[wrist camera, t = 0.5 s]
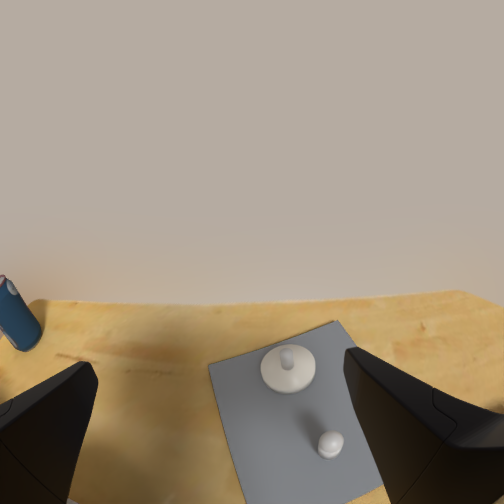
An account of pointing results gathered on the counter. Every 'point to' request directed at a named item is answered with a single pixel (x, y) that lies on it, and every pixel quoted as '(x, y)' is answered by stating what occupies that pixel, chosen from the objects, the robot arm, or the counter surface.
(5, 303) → the soda can
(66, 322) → the counter surface
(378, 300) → the counter surface
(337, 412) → the gear board
